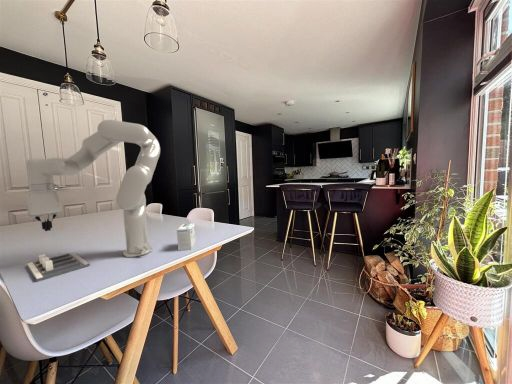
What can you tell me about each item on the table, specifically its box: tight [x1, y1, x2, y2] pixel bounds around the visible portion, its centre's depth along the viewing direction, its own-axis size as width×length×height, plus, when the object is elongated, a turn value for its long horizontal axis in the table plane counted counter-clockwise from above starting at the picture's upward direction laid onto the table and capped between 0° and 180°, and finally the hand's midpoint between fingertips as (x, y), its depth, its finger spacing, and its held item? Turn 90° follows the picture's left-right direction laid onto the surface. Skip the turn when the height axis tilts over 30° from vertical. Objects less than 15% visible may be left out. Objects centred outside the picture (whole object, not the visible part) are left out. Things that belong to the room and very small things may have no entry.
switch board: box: [26, 251, 90, 282], centre depth 92 cm, size 24×16×2 cm, turn 53°
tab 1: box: [38, 253, 47, 264], centre depth 93 cm, size 2×2×4 cm
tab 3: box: [44, 260, 53, 271], centre depth 85 cm, size 2×2×4 cm
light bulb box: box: [176, 223, 196, 251], centre depth 110 cm, size 11×7×11 cm, turn 5°
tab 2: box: [41, 256, 50, 267], centre depth 89 cm, size 2×2×4 cm
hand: (47, 230), depth 93 cm, fingers closed
